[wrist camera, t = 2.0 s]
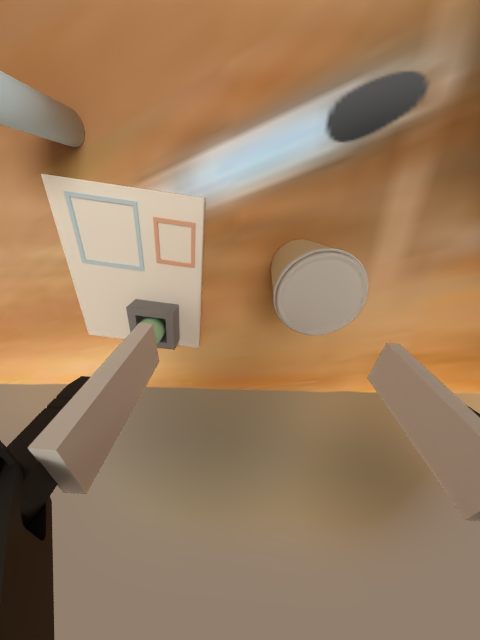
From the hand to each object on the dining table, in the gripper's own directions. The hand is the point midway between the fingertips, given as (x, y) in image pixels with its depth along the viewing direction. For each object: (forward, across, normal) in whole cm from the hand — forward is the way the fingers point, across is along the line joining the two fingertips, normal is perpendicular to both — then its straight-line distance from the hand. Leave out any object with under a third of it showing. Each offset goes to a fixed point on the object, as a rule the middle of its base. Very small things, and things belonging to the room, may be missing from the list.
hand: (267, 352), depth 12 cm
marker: (+21, -23, +13) cm, 34 cm away
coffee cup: (+21, +6, 0) cm, 22 cm away
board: (+21, -18, -4) cm, 28 cm away
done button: (+19, -15, -11) cm, 27 cm away
